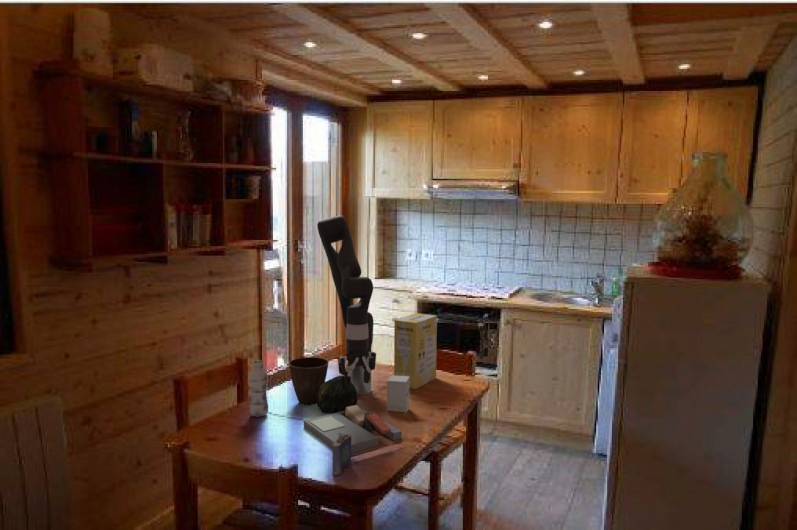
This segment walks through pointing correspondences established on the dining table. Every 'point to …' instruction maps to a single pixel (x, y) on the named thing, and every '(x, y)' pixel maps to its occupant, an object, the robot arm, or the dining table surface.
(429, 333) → the pasta box
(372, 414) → the tip lever
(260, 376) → the plastic bottle
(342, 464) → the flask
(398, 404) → the supplement box
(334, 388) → the squash
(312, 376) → the plant pot
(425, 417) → the dining table surface
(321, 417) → the pocket board
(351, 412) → the slab
